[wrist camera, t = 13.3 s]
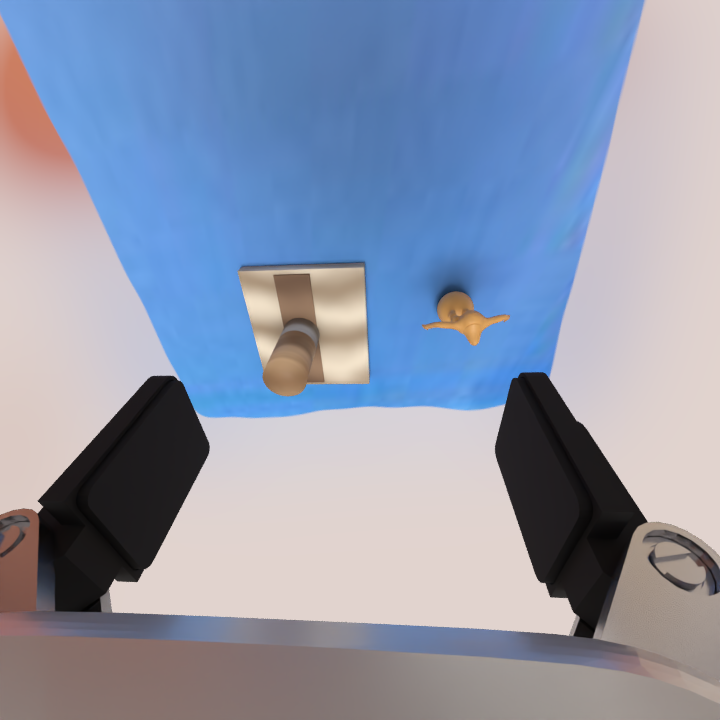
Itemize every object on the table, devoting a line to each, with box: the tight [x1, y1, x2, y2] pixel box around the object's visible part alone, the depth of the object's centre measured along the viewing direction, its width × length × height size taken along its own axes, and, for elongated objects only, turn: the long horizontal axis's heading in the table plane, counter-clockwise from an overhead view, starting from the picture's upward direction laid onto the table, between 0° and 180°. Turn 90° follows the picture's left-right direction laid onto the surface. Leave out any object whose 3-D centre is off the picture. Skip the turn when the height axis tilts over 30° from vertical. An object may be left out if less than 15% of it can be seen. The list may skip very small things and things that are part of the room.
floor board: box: [238, 263, 370, 384], centre depth 43 cm, size 16×14×2 cm
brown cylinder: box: [263, 318, 320, 396], centre depth 38 cm, size 4×4×9 cm
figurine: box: [422, 291, 510, 346], centre depth 35 cm, size 8×6×12 cm
